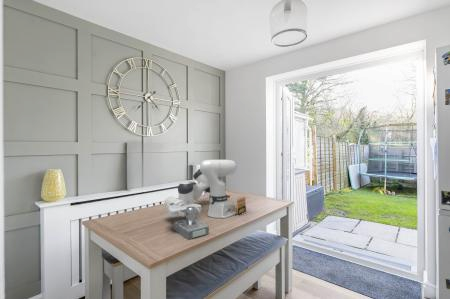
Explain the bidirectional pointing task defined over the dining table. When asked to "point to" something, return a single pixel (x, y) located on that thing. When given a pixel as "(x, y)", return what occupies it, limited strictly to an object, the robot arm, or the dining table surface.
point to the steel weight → (190, 215)
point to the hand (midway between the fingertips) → (191, 213)
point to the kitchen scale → (191, 229)
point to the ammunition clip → (240, 206)
